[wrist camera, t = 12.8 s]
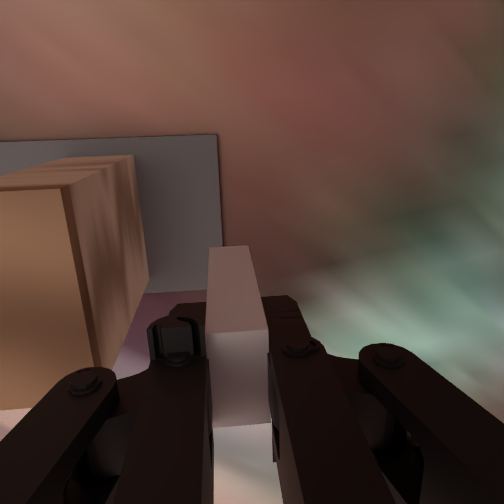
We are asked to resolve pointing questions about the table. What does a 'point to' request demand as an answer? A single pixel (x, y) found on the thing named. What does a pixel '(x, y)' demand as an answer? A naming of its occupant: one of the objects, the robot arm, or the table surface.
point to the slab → (67, 271)
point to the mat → (154, 197)
